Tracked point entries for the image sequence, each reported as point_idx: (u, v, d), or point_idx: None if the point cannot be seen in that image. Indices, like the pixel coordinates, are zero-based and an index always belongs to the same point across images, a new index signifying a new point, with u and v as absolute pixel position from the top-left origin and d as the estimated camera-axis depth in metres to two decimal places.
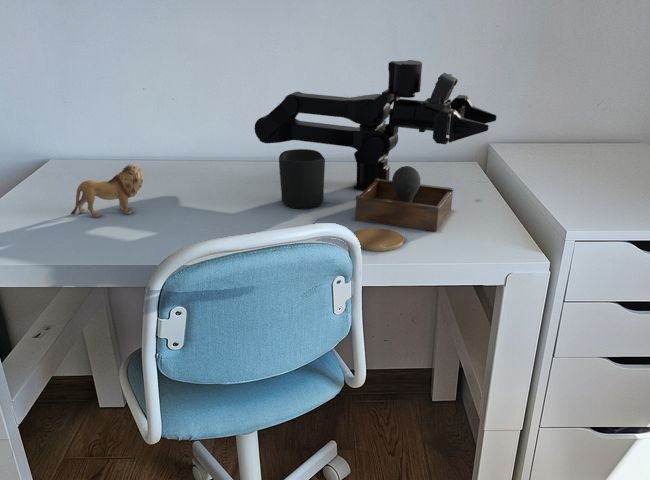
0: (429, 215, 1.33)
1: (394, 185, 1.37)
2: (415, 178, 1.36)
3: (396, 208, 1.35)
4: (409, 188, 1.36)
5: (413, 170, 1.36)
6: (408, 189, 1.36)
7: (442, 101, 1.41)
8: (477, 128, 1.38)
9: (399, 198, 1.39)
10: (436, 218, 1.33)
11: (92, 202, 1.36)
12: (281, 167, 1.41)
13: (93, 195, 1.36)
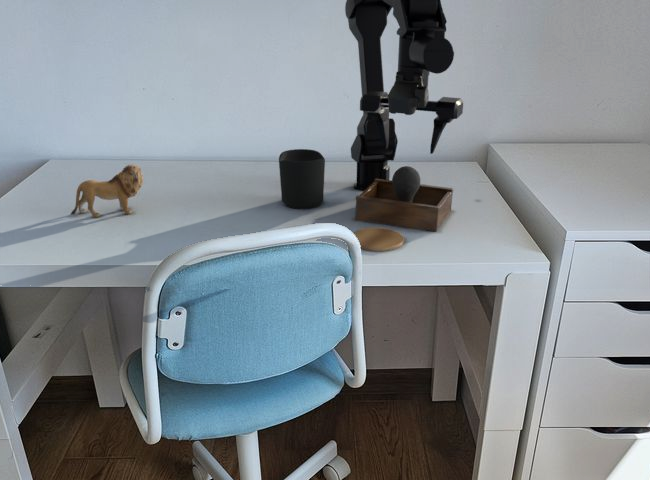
0: (429, 215, 1.33)
1: (394, 185, 1.37)
2: (415, 178, 1.36)
3: (396, 208, 1.35)
4: (409, 188, 1.36)
5: (413, 170, 1.36)
6: (408, 189, 1.36)
7: None
8: None
9: (399, 198, 1.39)
10: (436, 218, 1.33)
11: (92, 202, 1.36)
12: (281, 167, 1.41)
13: (93, 195, 1.36)
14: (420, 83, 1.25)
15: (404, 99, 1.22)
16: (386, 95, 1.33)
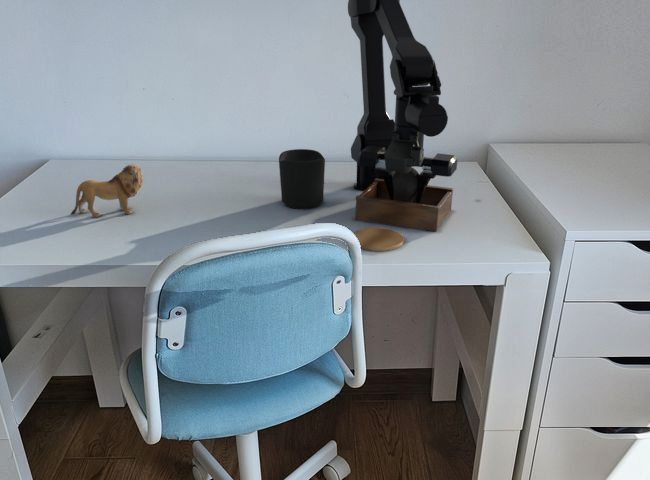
0: (429, 215, 1.33)
1: (394, 185, 1.37)
2: (415, 178, 1.36)
3: (396, 208, 1.35)
4: (409, 188, 1.36)
5: (413, 170, 1.36)
6: (408, 189, 1.36)
7: None
8: None
9: (399, 198, 1.39)
10: (436, 218, 1.33)
11: (92, 202, 1.36)
12: (281, 167, 1.41)
13: (93, 195, 1.36)
14: (416, 142, 1.31)
15: (400, 159, 1.28)
16: (383, 150, 1.39)
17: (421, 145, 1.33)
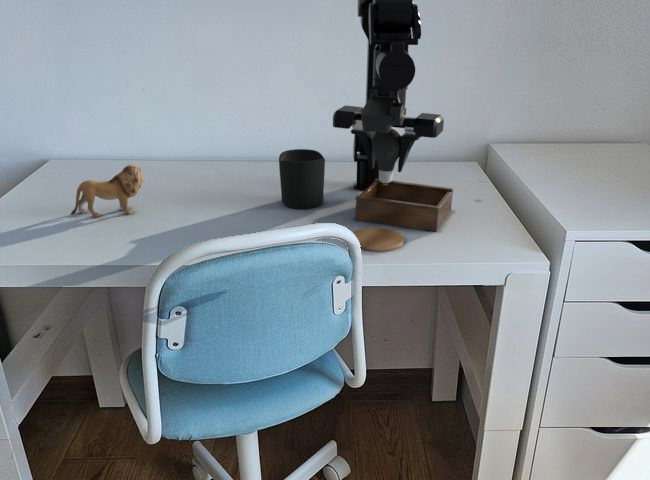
0: (429, 215, 1.33)
1: (373, 149, 1.23)
2: (397, 141, 1.21)
3: (396, 208, 1.35)
4: (390, 152, 1.22)
5: (395, 132, 1.22)
6: (388, 153, 1.22)
7: None
8: None
9: (379, 164, 1.24)
10: (436, 218, 1.33)
11: (92, 202, 1.36)
12: (281, 167, 1.41)
13: (93, 195, 1.36)
14: (396, 99, 1.16)
15: (378, 117, 1.13)
16: (361, 110, 1.24)
17: (403, 103, 1.19)
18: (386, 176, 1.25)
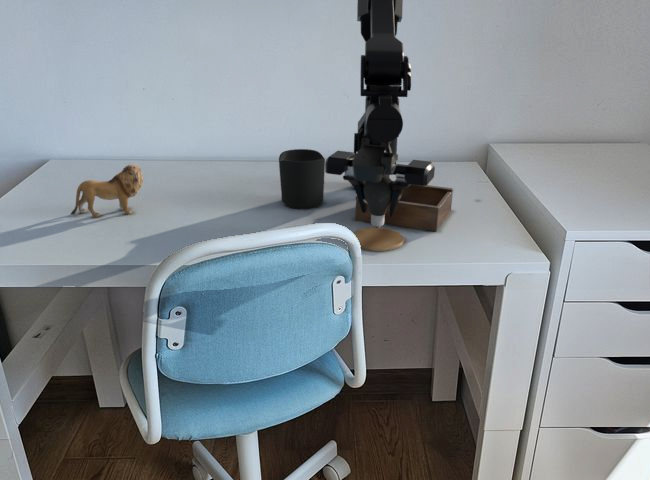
0: (429, 215, 1.33)
1: (365, 194, 1.24)
2: (388, 187, 1.23)
3: (396, 208, 1.35)
4: (382, 198, 1.23)
5: (386, 178, 1.23)
6: (380, 199, 1.23)
7: None
8: None
9: (371, 209, 1.26)
10: (436, 218, 1.33)
11: (92, 202, 1.36)
12: (281, 167, 1.41)
13: (93, 195, 1.36)
14: (387, 148, 1.18)
15: (369, 167, 1.15)
16: (354, 156, 1.25)
17: (394, 151, 1.20)
18: (378, 220, 1.27)
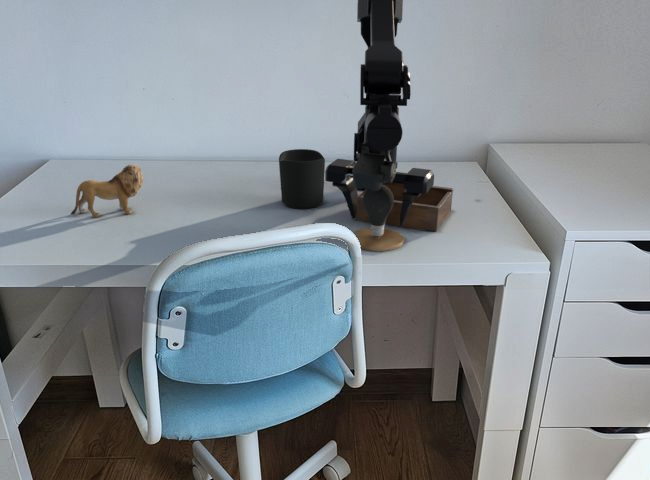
0: (429, 215, 1.33)
1: (365, 205, 1.25)
2: (388, 197, 1.24)
3: (396, 208, 1.35)
4: (381, 208, 1.24)
5: (385, 188, 1.24)
6: (379, 209, 1.24)
7: None
8: None
9: (371, 219, 1.27)
10: (436, 218, 1.33)
11: (92, 202, 1.36)
12: (281, 167, 1.41)
13: (93, 195, 1.36)
14: (387, 156, 1.18)
15: (369, 175, 1.15)
16: (353, 164, 1.26)
17: (394, 159, 1.21)
18: (377, 230, 1.28)
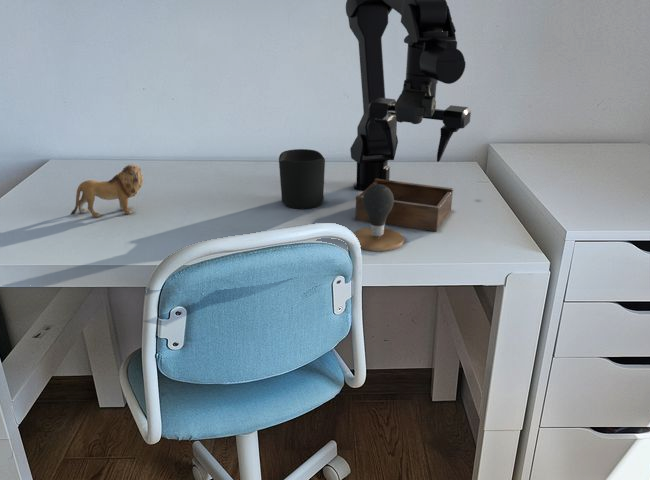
0: (429, 215, 1.33)
1: (365, 205, 1.25)
2: (388, 197, 1.24)
3: (396, 208, 1.35)
4: (381, 208, 1.24)
5: (385, 188, 1.24)
6: (379, 209, 1.24)
7: None
8: None
9: (371, 219, 1.27)
10: (436, 218, 1.33)
11: (92, 202, 1.36)
12: (281, 167, 1.41)
13: (93, 195, 1.36)
14: (427, 92, 1.26)
15: (411, 108, 1.23)
16: (394, 102, 1.34)
17: (433, 96, 1.28)
18: (377, 230, 1.28)
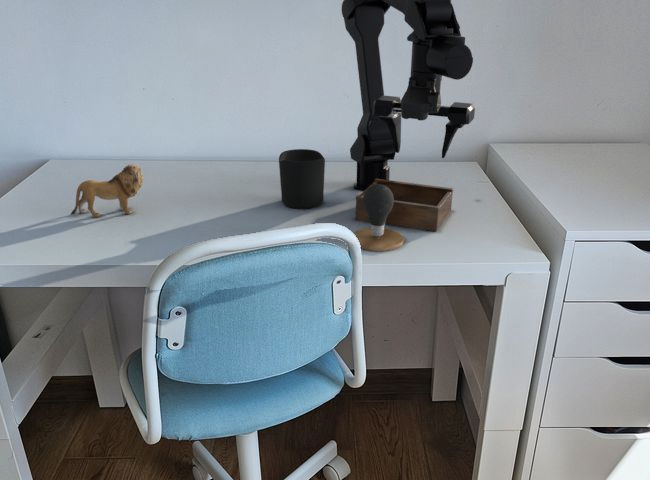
0: (429, 215, 1.33)
1: (365, 205, 1.25)
2: (388, 197, 1.24)
3: (396, 208, 1.35)
4: (381, 208, 1.24)
5: (385, 188, 1.24)
6: (379, 209, 1.24)
7: None
8: None
9: (371, 219, 1.27)
10: (436, 218, 1.33)
11: (92, 202, 1.36)
12: (281, 167, 1.41)
13: (93, 195, 1.36)
14: (433, 89, 1.27)
15: (417, 105, 1.24)
16: (398, 100, 1.35)
17: None
18: (377, 230, 1.28)
